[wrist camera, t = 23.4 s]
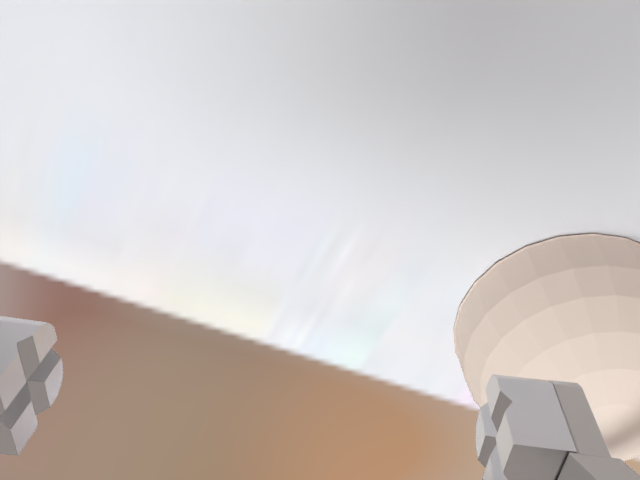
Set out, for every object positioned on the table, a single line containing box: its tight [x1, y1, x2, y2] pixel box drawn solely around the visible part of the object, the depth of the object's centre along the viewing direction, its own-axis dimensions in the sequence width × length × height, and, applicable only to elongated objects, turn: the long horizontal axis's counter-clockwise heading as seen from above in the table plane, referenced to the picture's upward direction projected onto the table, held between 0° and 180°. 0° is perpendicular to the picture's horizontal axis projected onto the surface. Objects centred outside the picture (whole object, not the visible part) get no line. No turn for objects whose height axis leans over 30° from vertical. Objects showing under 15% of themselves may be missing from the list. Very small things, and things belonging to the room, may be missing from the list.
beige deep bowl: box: [454, 234, 640, 461], centre depth 44 cm, size 20×21×18 cm
